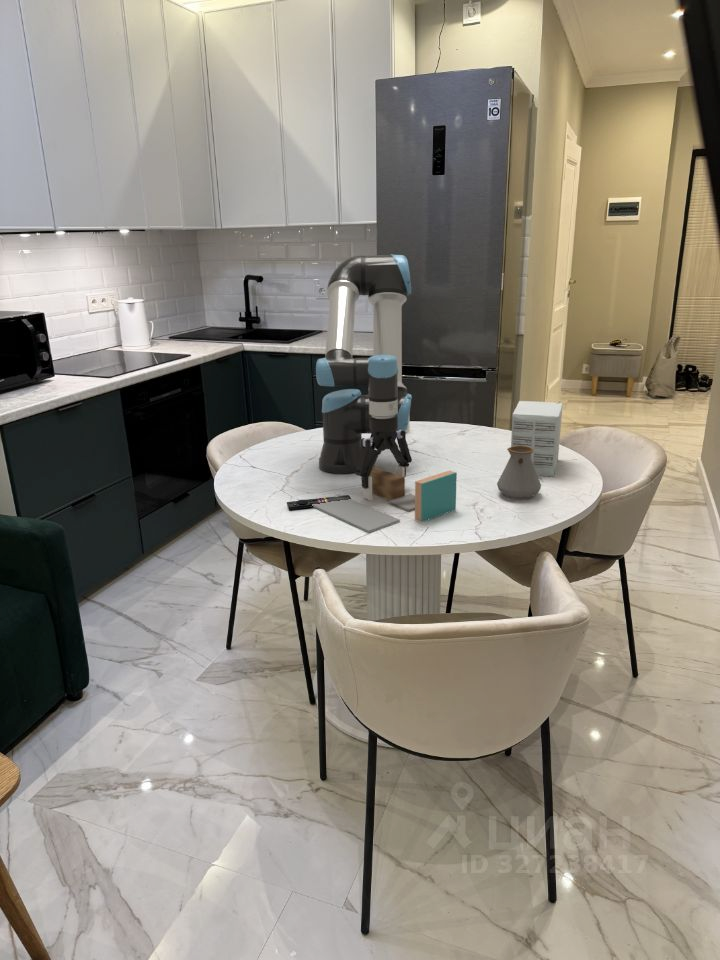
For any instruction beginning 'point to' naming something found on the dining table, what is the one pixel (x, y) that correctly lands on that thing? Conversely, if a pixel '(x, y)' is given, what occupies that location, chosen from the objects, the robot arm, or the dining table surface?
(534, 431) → the supplement box
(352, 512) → the rest mat
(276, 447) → the dining table surface
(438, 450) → the dining table surface
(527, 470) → the coffee pot
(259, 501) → the dining table surface
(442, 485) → the tile
